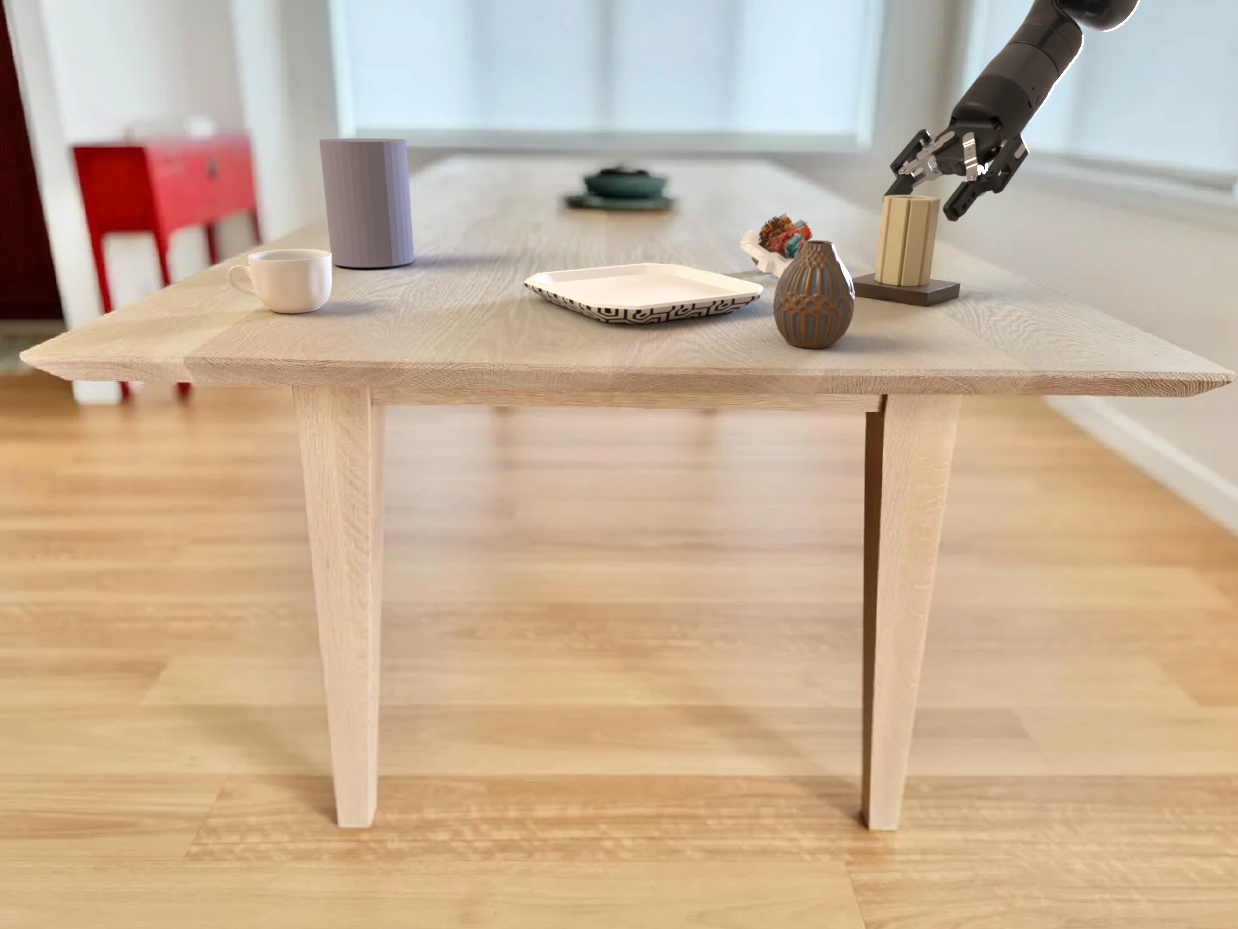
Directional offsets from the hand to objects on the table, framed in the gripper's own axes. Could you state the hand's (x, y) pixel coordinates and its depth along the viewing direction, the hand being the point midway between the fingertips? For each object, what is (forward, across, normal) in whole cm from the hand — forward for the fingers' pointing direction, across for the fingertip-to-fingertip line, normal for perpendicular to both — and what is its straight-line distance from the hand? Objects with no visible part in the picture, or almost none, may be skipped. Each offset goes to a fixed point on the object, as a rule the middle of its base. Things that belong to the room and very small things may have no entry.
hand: (917, 211), depth 100 cm
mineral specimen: (+8, -18, +5) cm, 21 cm away
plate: (+27, -10, -14) cm, 32 cm away
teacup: (+50, -24, -38) cm, 67 cm away
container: (+39, -47, -26) cm, 67 cm away
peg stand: (+7, 0, +6) cm, 9 cm away
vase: (+24, +12, -11) cm, 29 cm away
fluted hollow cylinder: (+6, 0, +4) cm, 8 cm away
